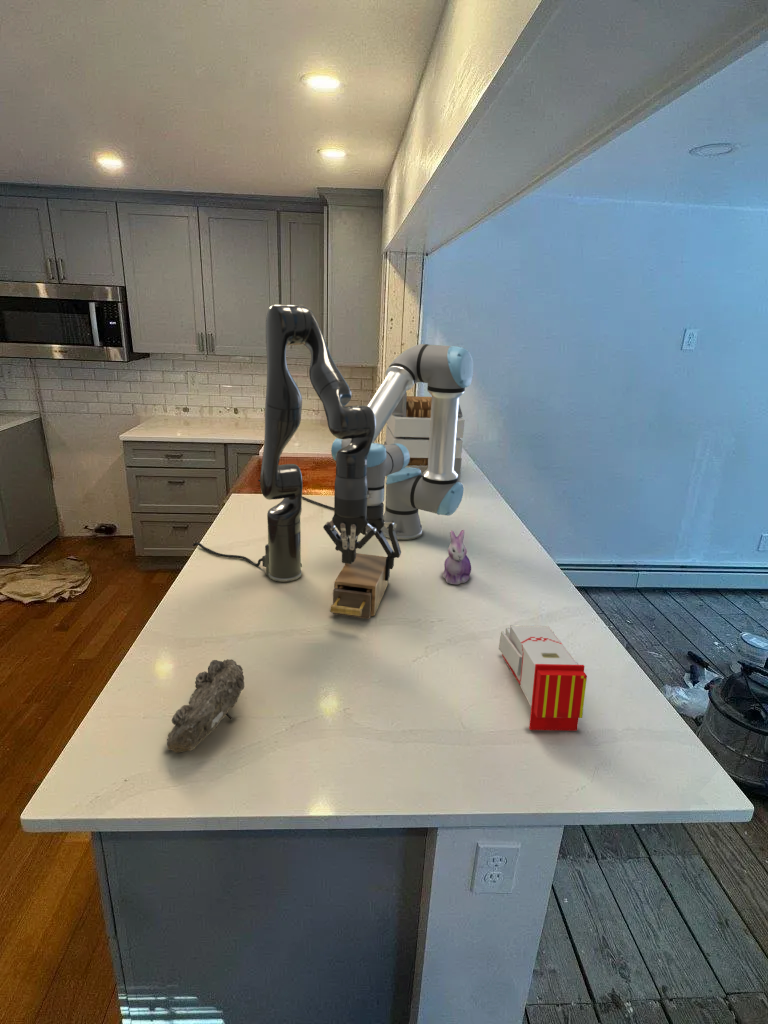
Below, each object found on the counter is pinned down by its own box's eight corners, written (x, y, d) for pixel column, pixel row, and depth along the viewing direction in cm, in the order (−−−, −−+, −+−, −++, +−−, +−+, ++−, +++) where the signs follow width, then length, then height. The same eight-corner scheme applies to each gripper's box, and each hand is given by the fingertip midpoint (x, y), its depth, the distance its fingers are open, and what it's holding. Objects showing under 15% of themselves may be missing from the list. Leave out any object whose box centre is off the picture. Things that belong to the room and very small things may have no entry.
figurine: (453, 588, 162) (457, 540, 157) (434, 573, 170) (437, 527, 165) (479, 582, 166) (485, 535, 161) (459, 568, 175) (464, 523, 170)
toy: (545, 610, 133) (596, 671, 104) (540, 662, 136) (588, 737, 106) (494, 609, 133) (530, 670, 103) (490, 662, 135) (524, 736, 106)
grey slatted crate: (382, 463, 289) (386, 382, 275) (445, 464, 293) (451, 384, 279) (390, 482, 257) (394, 392, 243) (460, 483, 261) (468, 394, 247)
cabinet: (374, 616, 146) (375, 586, 143) (334, 610, 148) (334, 581, 145) (388, 584, 163) (389, 557, 160) (351, 579, 165) (352, 552, 162)
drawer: (363, 631, 137) (364, 607, 135) (325, 625, 139) (326, 601, 137) (383, 587, 159) (384, 566, 157) (350, 583, 161) (350, 562, 158)
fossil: (192, 660, 117) (244, 628, 112) (224, 691, 120) (276, 661, 115) (142, 746, 98) (202, 712, 93) (182, 779, 101) (242, 748, 96)
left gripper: (318, 495, 127) (318, 565, 133) (375, 501, 125) (372, 572, 131) (327, 486, 134) (327, 553, 140) (382, 491, 132) (379, 559, 138)
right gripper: (324, 501, 150) (323, 576, 158) (410, 511, 146) (405, 587, 154) (332, 493, 157) (331, 565, 165) (414, 502, 153) (410, 575, 161)
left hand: (349, 562), depth 135 cm, fingers closed
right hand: (367, 576), depth 159 cm, fingers closed on cabinet, 11 cm apart
